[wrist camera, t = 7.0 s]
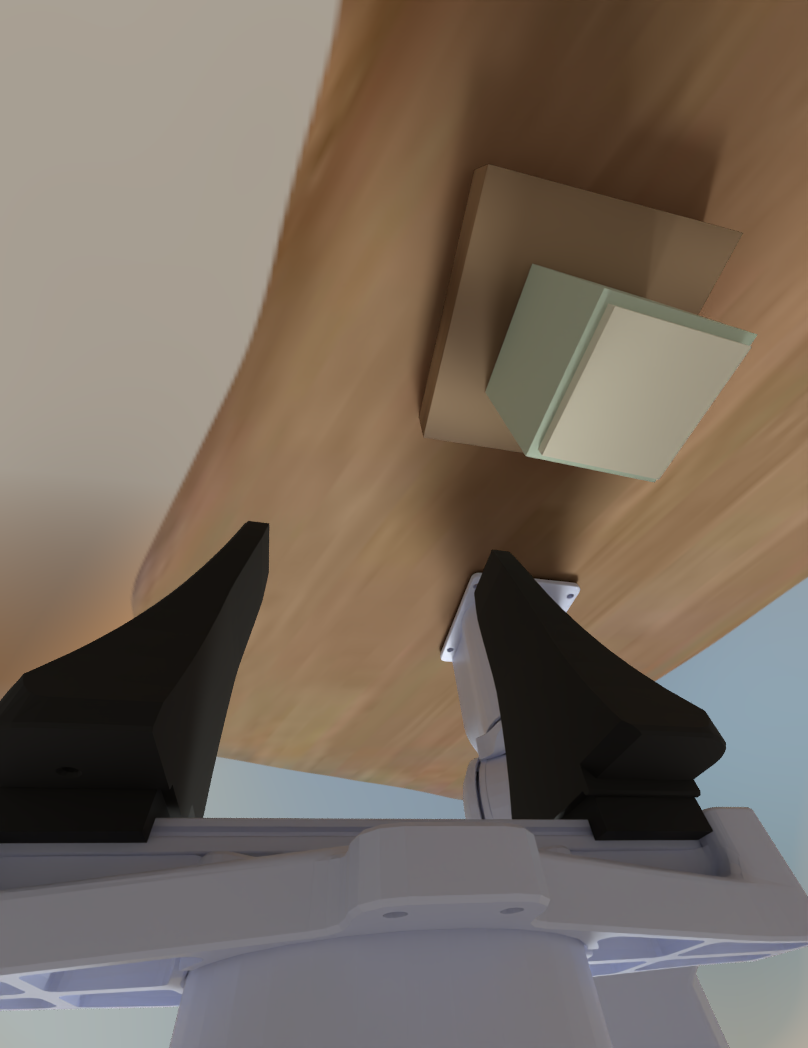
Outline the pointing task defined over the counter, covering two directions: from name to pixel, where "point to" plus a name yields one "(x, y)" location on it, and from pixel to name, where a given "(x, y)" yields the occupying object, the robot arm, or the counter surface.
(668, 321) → the tea tin
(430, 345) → the counter surface
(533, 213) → the walnut block
